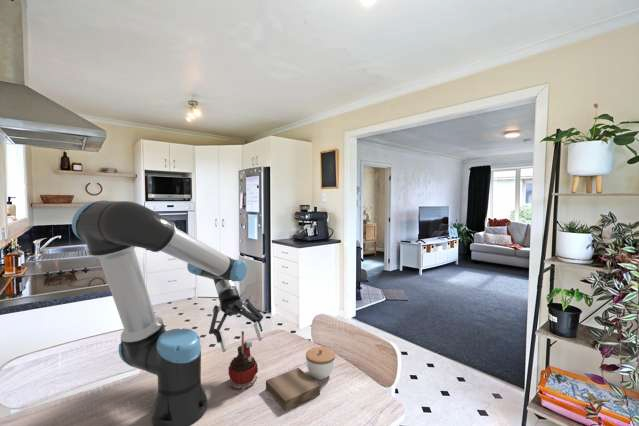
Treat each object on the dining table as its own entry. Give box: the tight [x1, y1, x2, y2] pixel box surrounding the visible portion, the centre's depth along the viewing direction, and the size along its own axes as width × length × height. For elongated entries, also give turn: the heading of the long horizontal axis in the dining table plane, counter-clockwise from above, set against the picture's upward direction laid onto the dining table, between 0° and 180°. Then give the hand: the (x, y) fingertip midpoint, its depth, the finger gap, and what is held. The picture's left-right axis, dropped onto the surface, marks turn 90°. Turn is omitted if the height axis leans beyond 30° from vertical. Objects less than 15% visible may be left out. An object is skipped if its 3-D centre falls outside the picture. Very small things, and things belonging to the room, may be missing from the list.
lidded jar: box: [305, 346, 336, 380], centre depth 110 cm, size 11×11×9 cm
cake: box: [228, 330, 259, 389], centre depth 105 cm, size 11×9×18 cm
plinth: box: [265, 367, 321, 412], centre depth 100 cm, size 13×13×3 cm
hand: (243, 345), depth 107 cm, fingers open, 13 cm apart
